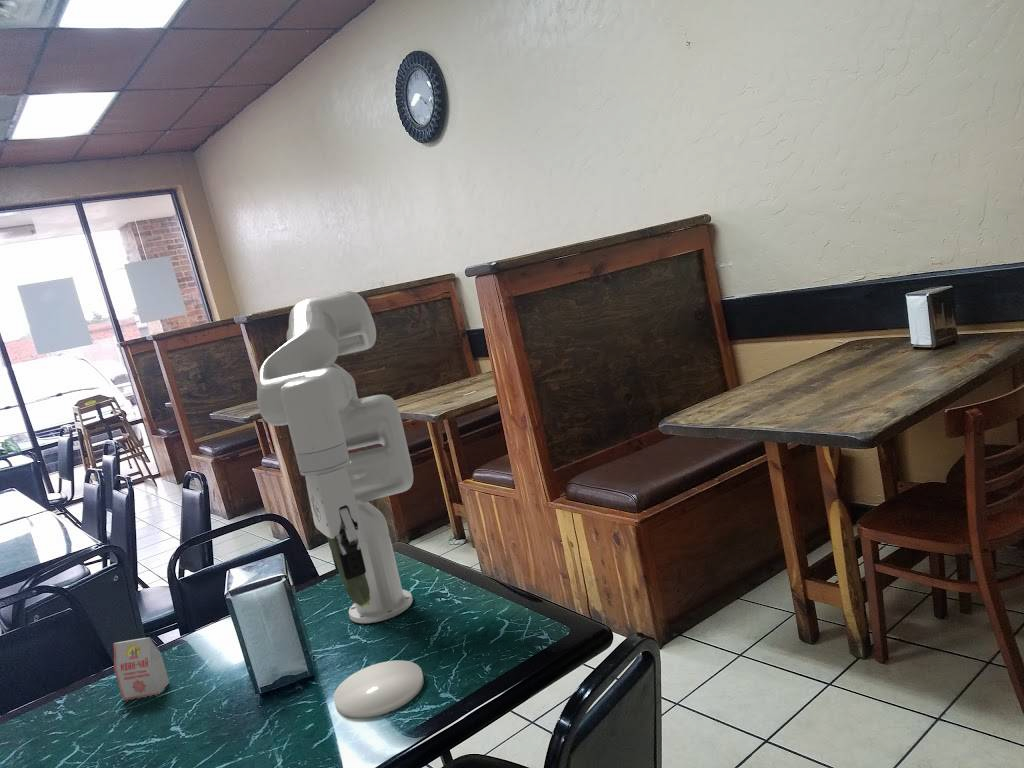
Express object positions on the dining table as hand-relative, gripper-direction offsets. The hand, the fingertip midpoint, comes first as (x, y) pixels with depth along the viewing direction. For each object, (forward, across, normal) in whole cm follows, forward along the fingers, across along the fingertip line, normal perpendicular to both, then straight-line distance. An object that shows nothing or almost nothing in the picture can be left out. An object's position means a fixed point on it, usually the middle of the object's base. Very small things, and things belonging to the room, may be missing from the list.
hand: (350, 570), depth 120 cm
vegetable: (+7, 0, 0) cm, 7 cm away
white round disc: (+20, 0, 0) cm, 20 cm away
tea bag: (+21, -35, -32) cm, 52 cm away
